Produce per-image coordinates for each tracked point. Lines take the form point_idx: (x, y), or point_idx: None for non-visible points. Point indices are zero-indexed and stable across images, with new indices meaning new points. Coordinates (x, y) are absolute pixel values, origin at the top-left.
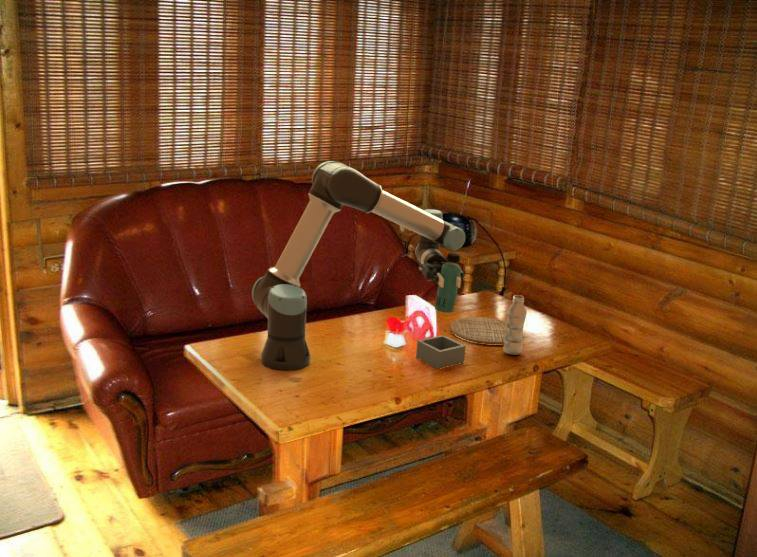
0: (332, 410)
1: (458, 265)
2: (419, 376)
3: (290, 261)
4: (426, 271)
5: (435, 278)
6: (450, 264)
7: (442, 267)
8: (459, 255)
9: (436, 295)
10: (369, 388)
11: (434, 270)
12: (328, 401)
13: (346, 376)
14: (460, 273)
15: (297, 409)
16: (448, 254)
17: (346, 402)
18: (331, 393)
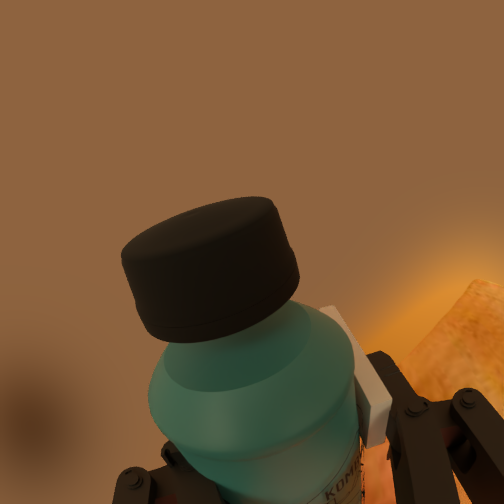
0: (454, 313)
1: (170, 345)
2: (368, 457)
3: None
4: (491, 405)
5: (384, 359)
6: (255, 327)
7: (342, 328)
8: (137, 235)
9: (363, 479)
10: (444, 377)
11: (436, 472)
12: (472, 326)
13: (499, 396)
14: (151, 477)
15: (487, 302)
16: (269, 201)
17: (452, 332)
18: (483, 343)
